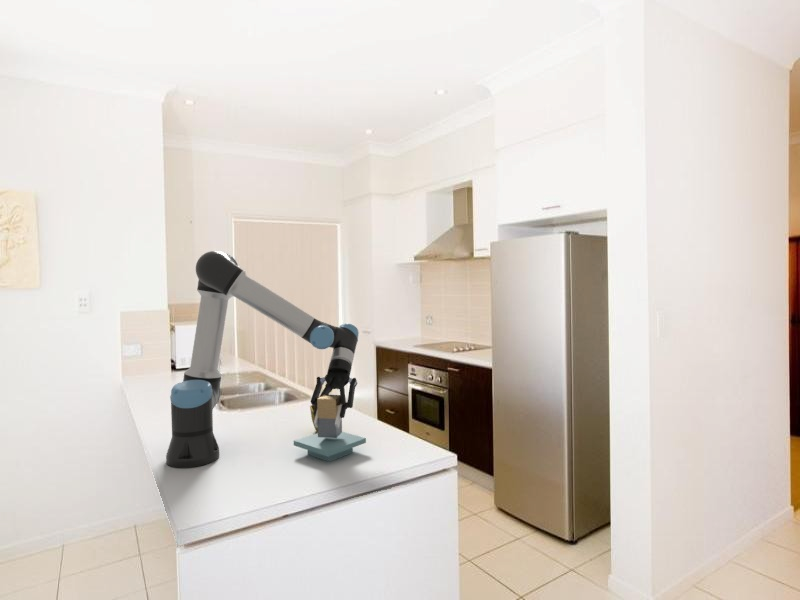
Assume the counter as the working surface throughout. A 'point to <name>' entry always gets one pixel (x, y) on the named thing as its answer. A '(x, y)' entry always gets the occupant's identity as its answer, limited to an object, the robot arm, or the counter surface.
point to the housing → (328, 416)
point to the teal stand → (329, 445)
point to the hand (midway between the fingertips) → (326, 425)
